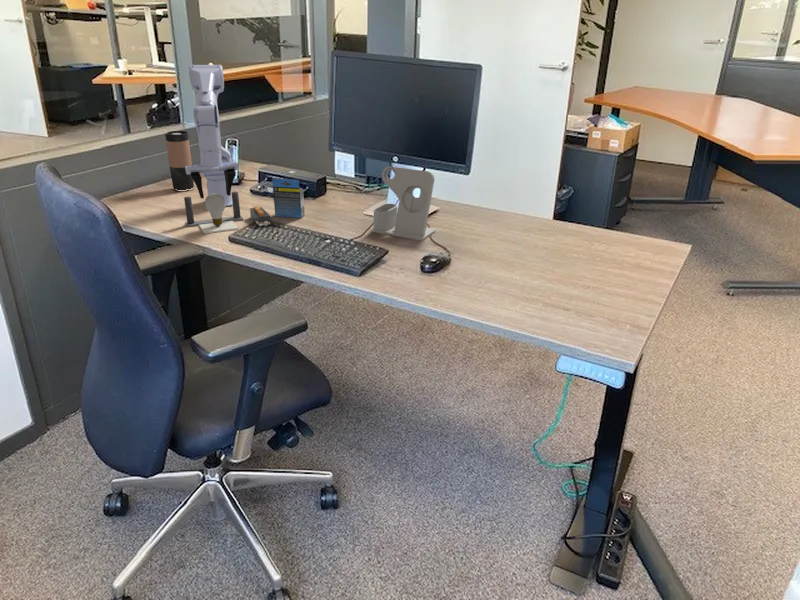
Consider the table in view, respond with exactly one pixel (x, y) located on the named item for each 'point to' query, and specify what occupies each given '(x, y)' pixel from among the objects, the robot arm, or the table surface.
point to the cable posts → (191, 221)
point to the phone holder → (406, 205)
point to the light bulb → (215, 207)
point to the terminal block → (259, 214)
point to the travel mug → (179, 159)
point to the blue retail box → (288, 198)
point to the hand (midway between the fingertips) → (215, 196)
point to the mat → (218, 227)
